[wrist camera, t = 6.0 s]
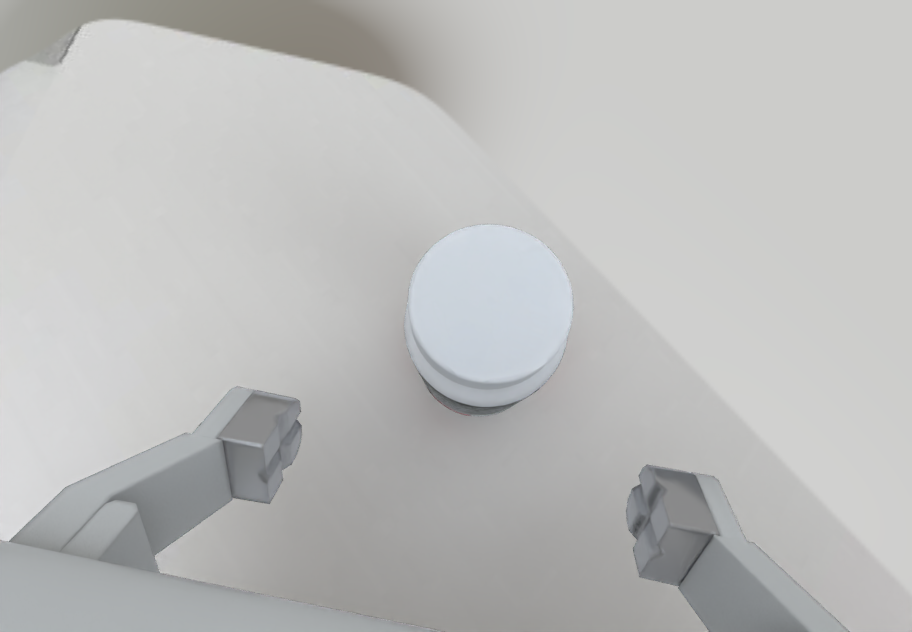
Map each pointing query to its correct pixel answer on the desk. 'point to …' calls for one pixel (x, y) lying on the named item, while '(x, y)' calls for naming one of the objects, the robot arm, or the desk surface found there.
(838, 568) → the desk surface
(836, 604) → the desk surface
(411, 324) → the pill bottle
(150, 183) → the desk surface
